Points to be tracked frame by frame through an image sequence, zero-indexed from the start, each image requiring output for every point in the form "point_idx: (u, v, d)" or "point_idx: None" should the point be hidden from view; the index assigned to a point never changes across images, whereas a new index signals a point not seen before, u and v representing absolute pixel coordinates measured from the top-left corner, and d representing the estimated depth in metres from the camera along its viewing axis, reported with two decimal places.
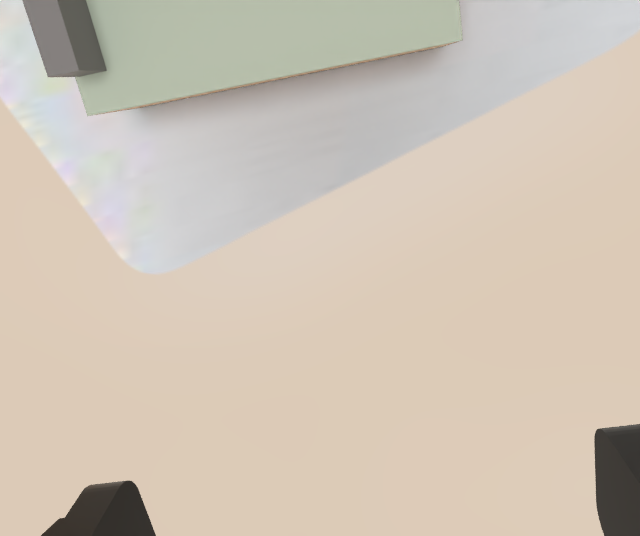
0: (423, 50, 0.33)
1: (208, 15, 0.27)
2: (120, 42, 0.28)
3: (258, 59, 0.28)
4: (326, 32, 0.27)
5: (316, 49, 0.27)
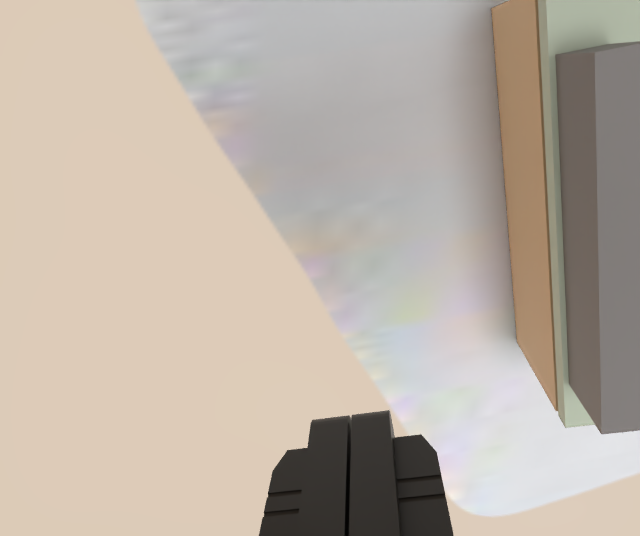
0: None
1: None
2: None
3: None
4: None
5: None
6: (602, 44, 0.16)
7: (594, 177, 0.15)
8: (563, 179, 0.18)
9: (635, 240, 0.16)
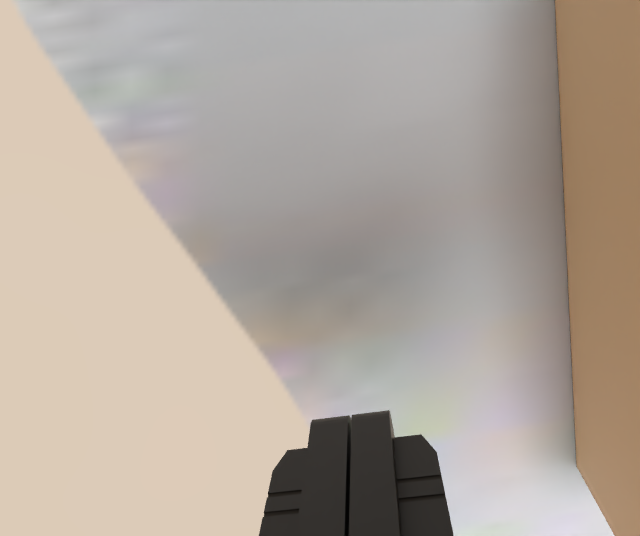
0: None
1: None
2: None
3: None
4: None
5: None
6: None
7: None
8: None
9: None
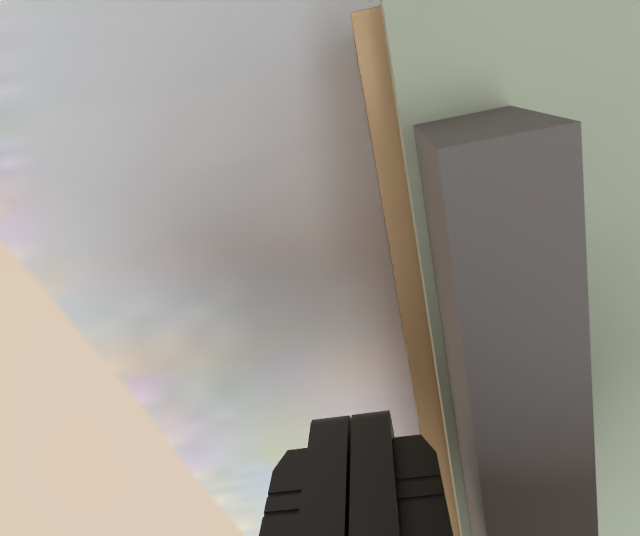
0: None
1: None
2: None
3: None
4: None
5: None
6: (497, 107, 0.09)
7: (466, 386, 0.07)
8: (444, 337, 0.10)
9: (555, 501, 0.08)
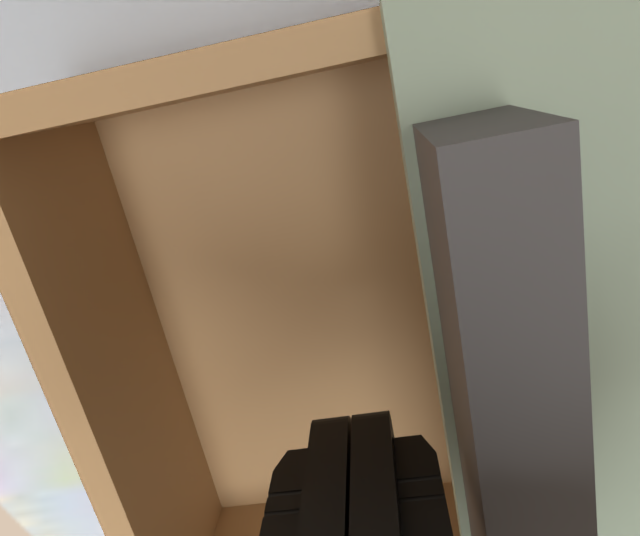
0: None
1: None
2: None
3: None
4: None
5: None
6: (496, 106, 0.09)
7: (465, 384, 0.07)
8: (444, 336, 0.10)
9: (554, 499, 0.08)
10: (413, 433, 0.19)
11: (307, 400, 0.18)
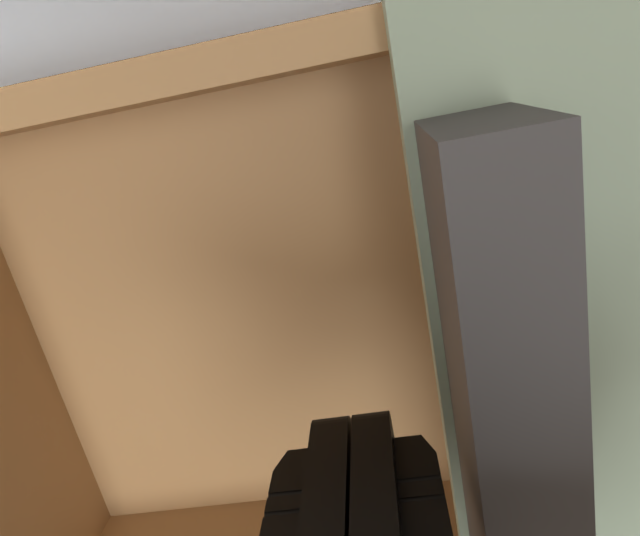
0: None
1: None
2: None
3: None
4: None
5: None
6: (497, 103, 0.09)
7: (465, 380, 0.08)
8: (443, 334, 0.10)
9: (553, 495, 0.08)
10: (287, 446, 0.19)
11: (183, 414, 0.19)
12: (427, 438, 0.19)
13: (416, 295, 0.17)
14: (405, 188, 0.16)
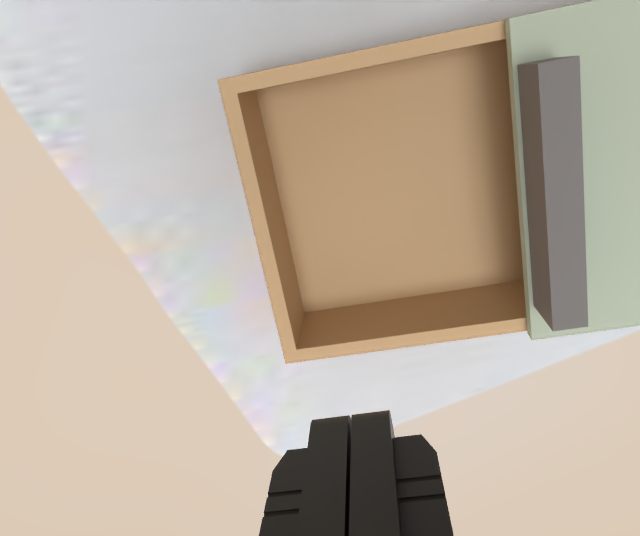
0: None
1: None
2: (587, 276, 0.27)
3: None
4: None
5: None
6: (549, 58, 0.24)
7: (541, 146, 0.23)
8: (524, 152, 0.25)
9: (569, 189, 0.23)
10: (413, 263, 0.34)
11: (356, 244, 0.34)
12: (492, 256, 0.34)
13: (490, 171, 0.32)
14: (487, 112, 0.31)
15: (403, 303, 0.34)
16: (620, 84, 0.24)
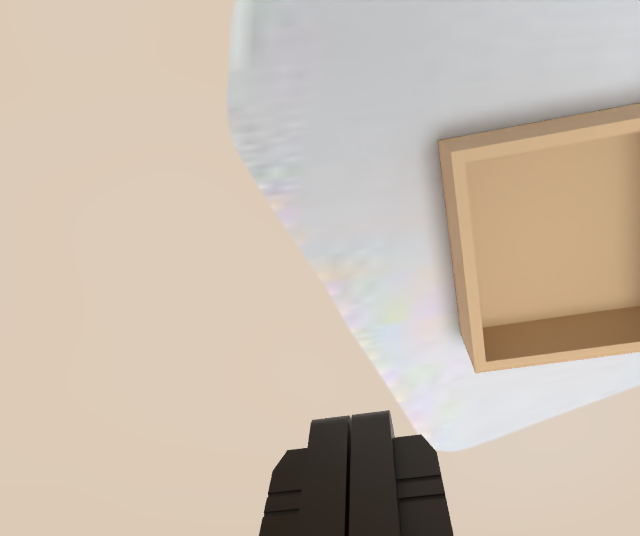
0: None
1: None
2: None
3: None
4: None
5: None
6: None
7: None
8: None
9: None
10: (567, 289, 0.42)
11: (521, 273, 0.42)
12: (634, 283, 0.41)
13: None
14: None
15: (560, 322, 0.42)
16: None
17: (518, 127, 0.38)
